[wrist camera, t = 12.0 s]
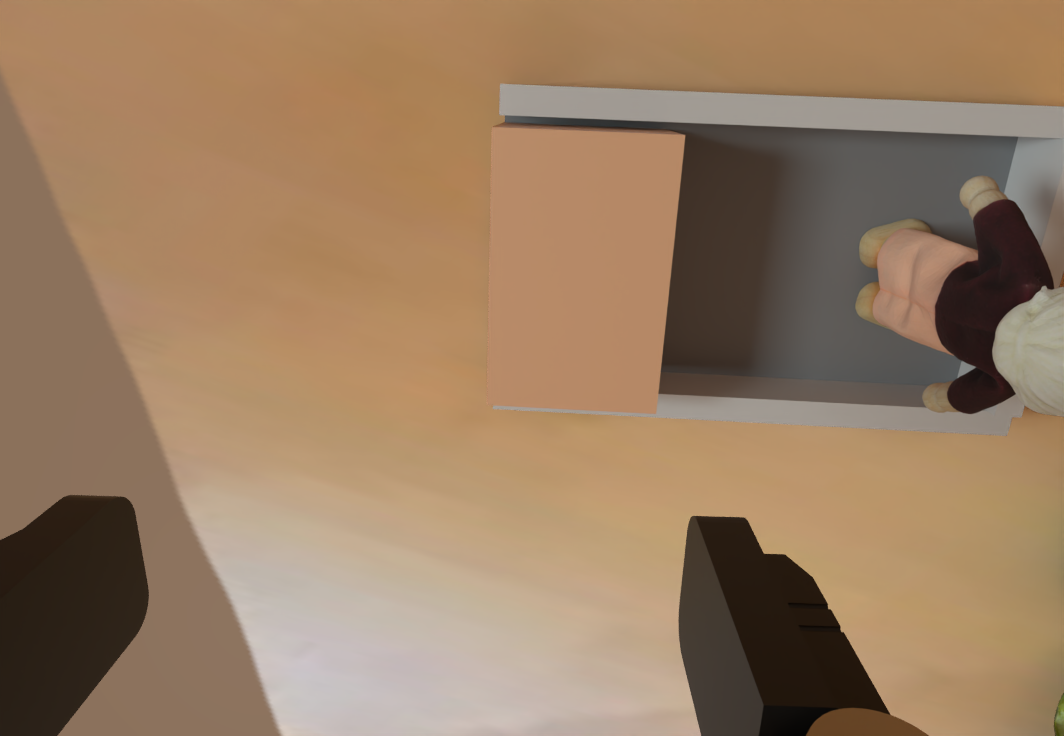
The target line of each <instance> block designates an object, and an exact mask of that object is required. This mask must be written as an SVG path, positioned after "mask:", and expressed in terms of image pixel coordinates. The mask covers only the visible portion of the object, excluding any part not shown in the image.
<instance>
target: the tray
mask: <svg viewBox="0 0 1064 736" xmlns="http://www.w3.org/2000/svg"><path fill="white" fill-rule="evenodd" d="M499 115H505V122H511V123H535V124H559V125H583V126H607V127H631V128H655V129H667V130H670V131H674V132H677V133H680V134H683V135H685V144H684V154H683V163H682V173H681V182H680V192H679V201H678V211H677V220H676V230H675V239H674V249H673V259H672V268H671V278H670V287H669V297H668V306H667V316H666V325H665V335H664V344H663V354H662V363H661V373H660V382H659V392H658V402H657V411H656V414H645V413H626V412H607V411H588V410H569V409H550V408H531V407H512V406H493V409H505V410H524V411H543V412H562V413H581V414H600V415H619V416H638V417H657V418H676V419H695V420H714V421H733V422H752V423H771V424H790V425H809V426H828V427H847V428H867V429H886V430H905V431H924V432H943V433H962V434H981V435H1000V436H1007V434H1008V431H1009V427H1010V424H1011V420H1012V417H1022V414H1023V410H1024V407H1025V405H1024V404H1023V403H1022V402H1021V401H1020V400H1019V399H1018V397H1017V395H1014V396H1012V397H1011V398H1009V399H1007V400H1005V401H1004V402H1002V403H999V404H998V405H995V406H993V407H990V408H987V409H985V410H982V411H980V412H978V413H975V414H965V413H962V412H949V411H947V412H944V413H938V412H934V411H931V410H929V409H928V408H927V407H926V406H925V405H924V402H923V399H922V396H923V392H924V390H925V389H926V388H927V387H928V386H929V385H931V384H934V383H946V382H949V381H954V380H955V379H957V378H959V377H960V376H962V375H964V374H966V373H968V372H969V371H971V370H973V369H974V368H976V367H975V366H972V365H969V364H967V363H965V362H963V361H961V360H959V359H957V358H956V357H955V356H953V355H950V354H947V353H945V352H942V351H938V350H936V349H933V348H931V347H928V346H926V345H923V344H920V343H917V342H915V341H912V340H910V339H907V338H905V337H903V336H901V335H899V334H898V333H896V332H894V331H893V330H890V329H887V328H884V327H882V326H879V325H877V324H874V323H872V322H869V321H867V320H865V319H862V318H861V317H860V316H859V315H858V314H857V312H856V309H855V304H856V300H857V297H858V294H859V292H860V290H861V289H862V288H863V287H864V286H866V285H867V284H869V283H872V282H879V278H878V269H875V268H870V267H867V266H866V265H864V264H863V263H862V261H861V260H860V256H859V244H860V240H861V238H862V236H863V235H864V234H865V233H866V232H867V231H869V230H870V229H872V228H875V227H878V226H882V225H886V224H890V223H893V222H897V221H901V220H905V219H913V218H914V219H918V220H921V221H923V222H925V223H926V224H927V225H928V227H929V228H930V230H931V232H932V234H934V235H937V236H940V237H942V238H944V239H946V240H949V241H952V242H955V243H958V244H961V245H963V246H966V247H969V248H972V249H975V250H978V248H977V242H976V236H975V229H974V224H973V220H972V218H971V216H970V214H969V209H967V208H966V207H964V206H963V204H962V203H961V200H960V196H959V195H960V190H961V188H962V186H963V185H964V183H965V182H967V181H968V180H969V179H971V178H973V177H976V176H988V177H990V178H992V179H993V180H995V181H996V183H997V185H998V187H999V191H1001V192H1002V193H1004V194H1005V195H1006V196H1007V198H1008V199H1009V200H1012V201H1014V202H1015V203H1016V204H1017V205H1018V207H1019V208H1020V209H1021V211H1022V212H1023V214H1024V216H1025V219H1026V220H1027V222H1028V225H1029V226H1030V228H1031V230H1032V231H1033V233H1034V235H1035V237H1036V239H1037V241H1038V243H1039V245H1040V247H1041V250H1042V252H1043V254H1044V256H1045V259H1046V261H1047V263H1048V266H1049V269H1050V271H1051V275H1052V277H1053V282H1054V289H1056V288H1059V286H1060V283H1061V279H1062V276H1063V273H1064V107H1060V106H1035V105H1010V104H985V103H960V102H936V101H911V100H886V99H861V98H837V97H812V96H787V95H762V94H738V93H713V92H688V91H663V90H638V89H614V88H589V87H564V86H539V85H515V84H500V112H499Z"/></svg>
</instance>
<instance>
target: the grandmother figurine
mask: <svg viewBox="0 0 1064 736" xmlns="http://www.w3.org/2000/svg"><path fill="white" fill-rule="evenodd" d="M959 196H960V200H961V203H962V204H963V206H964V207H966V208H967V209H969V214H970V216H971V218H972V220H973V224H974V229H975V236H976V242H977V248H978V250H975V249H972V248H969V247H966V246H963V245H961V244H958V243H955V242H952V241H949V240H946V239H944V238H942V237H940V236H937V235H934V234H932V232H931V230H930V228H929V227H928V225H927V224H926V223H925V222H923V221H921V220H918V219H914V218H913V219H905V220H901V221H897V222H893V223H890V224H886V225H882V226H878V227H875V228H872V229H870V230H869V231H867V232H866V233H865V234H864V235H863V236H862V238H861V240H860V244H859V256H860V260H861V261H862V263H863V264H864V265H866V266H867V267H870V268H875V269H878V278H879V282H872V283H869V284H867V285H866V286H864V287H863V288H862V289H861V290H860V292H859V294H858V297H857V300H856V304H855V309H856V312H857V314H858V315H859V316H860V317H861V318H862V319H865V320H867V321H869V322H872V323H874V324H877V325H879V326H882V327H884V328H887V329H890V330H893V331H894V332H896V333H898V334H899V335H901V336H903V337H905V338H907V339H910V340H912V341H915V342H917V343H920V344H923V345H926V346H928V347H931V348H933V349H936V350H938V351H942V352H945V353H947V354H950V355H953V356H955V357H956V358H957V359H959V360H961V361H963V362H965V363H967V364H969V365H972V366H975V367H976V368H974V369H973V370H971V371H969V372H968V373H966V374H964V375H962V376H960V377H959V378H957V379H955V380H954V381H949V382H946V383H934V384H931V385H929V386H928V387H927V388H926V389H925V390H924V392H923V396H922V399H923V402H924V405H925V406H926V407H927V408H928V409H929V410H931V411H934V412H938V413H944V412H947V411H949V412H962V413H965V414H975V413H978V412H980V411H982V410H985V409H987V408H990V407H993V406H995V405H998V404H999V403H1002V402H1004V401H1005V400H1007V399H1009V398H1011V397H1012V396H1014V395H1017V397H1018V399H1019V400H1020V401H1021V402H1022V403H1023V404H1024V405H1025V406H1026V407H1028V408H1030V409H1031V410H1033V411H1035V412H1038V413H1041V414H1046V415H1054V416H1061V417H1064V287H1060V288H1056V289H1054V282H1053V277H1052V275H1051V271H1050V269H1049V266H1048V263H1047V261H1046V259H1045V256H1044V254H1043V252H1042V250H1041V247H1040V245H1039V243H1038V241H1037V239H1036V237H1035V235H1034V233H1033V231H1032V230H1031V228H1030V226H1029V225H1028V222H1027V220H1026V219H1025V216H1024V214H1023V212H1022V211H1021V209H1020V208H1019V207H1018V205H1017V204H1016V203H1015V202H1014V201H1012V200H1009V199H1008V198H1007V196H1006V195H1005V194H1004V193H1002V192H1001V191H999V187H998V185H997V183H996V181H995V180H993V179H992V178H990V177H988V176H976V177H973V178H971V179H969V180H968V181H967V182H965V183H964V185H963V186H962V188H961V190H960V195H959Z"/></svg>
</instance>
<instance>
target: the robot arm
mask: <svg viewBox="0 0 1064 736" xmlns="http://www.w3.org/2000/svg"><path fill="white" fill-rule="evenodd" d="M148 598H149V592H148V584H147V578H146V572H145V566H144V561H143V556H142V549H141V543H140V538H139V532H138V526H137V521H136V515H135V511H134V508H133V505H132V504H131V502H130V501H129V500H128V499H127V498H125V497H116V496H85V495H69V496H66V497H63V498H62V499H60V500H59V501H58V502H56V503H55V504H54V505H53V506H51V507H50V508H49V509H48V510H46V511H45V512H44V513H43V514H41V515H40V516H39V517H38V518H36V519H35V520H34V521H33V522H31V523H30V524H29V525H27V526H26V527H25V528H24V529H22V530H20V531H18V532H16V533H14V534H12V535H10V536H8V537H6V538H4V539H2V540H0V736H57V735H58V734H59V733H60V732H61V730H62V729H63V728H64V726H65V725H66V724H67V723H68V721H69V720H70V718H72V716H73V715H74V714H75V713H76V711H77V710H78V708H79V707H80V706H81V705H82V703H83V702H84V701H85V700H86V699H87V697H88V696H89V695H90V693H91V692H92V691H93V690H94V688H95V687H96V686H97V685H98V683H99V682H100V681H101V679H102V678H103V677H104V676H105V674H106V673H107V672H108V670H109V669H110V668H111V667H112V666H113V664H114V663H115V661H116V660H117V659H118V658H119V657H120V655H121V654H122V653H123V652H124V650H125V649H126V648H127V646H128V645H129V644H130V643H131V641H132V640H133V639H134V637H135V636H136V635H137V633H138V632H139V630H140V628H141V626H142V624H143V621H144V619H145V615H146V612H147V607H148ZM679 639H680V648H681V654H682V658H683V662H684V666H685V670H686V675H687V679H688V683H689V687H690V691H691V695H692V699H693V703H694V707H695V711H696V716H697V720H698V724H699V728H700V732H701V736H929V735H927V734H926V733H924V732H923V731H921V730H920V729H918V728H917V727H915V726H913V725H911V724H909V723H907V722H905V721H904V720H901V719H899V718H897V717H894V716H892V715H890V713H889V711H888V710H887V708H886V706H885V704H884V703H883V701H882V699H881V697H880V696H879V694H878V692H877V690H876V688H875V687H874V685H873V683H872V681H871V680H870V678H869V676H868V674H867V673H866V671H865V669H864V667H863V665H862V664H861V662H860V660H859V658H858V657H857V655H856V653H855V651H854V650H853V648H852V646H851V644H850V642H849V641H848V639H847V637H846V635H845V634H844V632H841V630H840V625H839V623H838V621H837V620H836V618H835V616H834V614H833V612H832V611H831V609H828V604H827V602H826V600H825V598H824V597H823V595H822V593H821V591H820V589H819V588H818V586H817V584H816V582H815V581H814V579H813V577H812V576H810V575H809V574H808V573H807V572H805V571H804V570H803V569H802V568H801V567H799V566H798V565H797V564H796V563H795V562H793V561H792V560H791V559H790V558H788V557H787V556H786V555H783V554H764V553H763V551H762V549H761V547H760V545H759V543H758V541H757V539H756V537H755V535H754V533H753V531H752V529H751V527H750V525H749V523H748V521H747V520H746V519H745V518H740V517H709V516H692V517H691V519H690V521H689V524H688V530H687V539H686V548H685V558H684V567H683V576H682V586H681V595H680V605H679Z"/></svg>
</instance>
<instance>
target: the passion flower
mask: <svg viewBox="0 0 1064 736" xmlns="http://www.w3.org/2000/svg"><path fill="white" fill-rule="evenodd" d="M1054 731H1055V736H1064V693H1063V695H1062V697H1061V699H1060V701H1059V704H1058V707H1057V710H1056V714H1055V720H1054Z"/></svg>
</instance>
